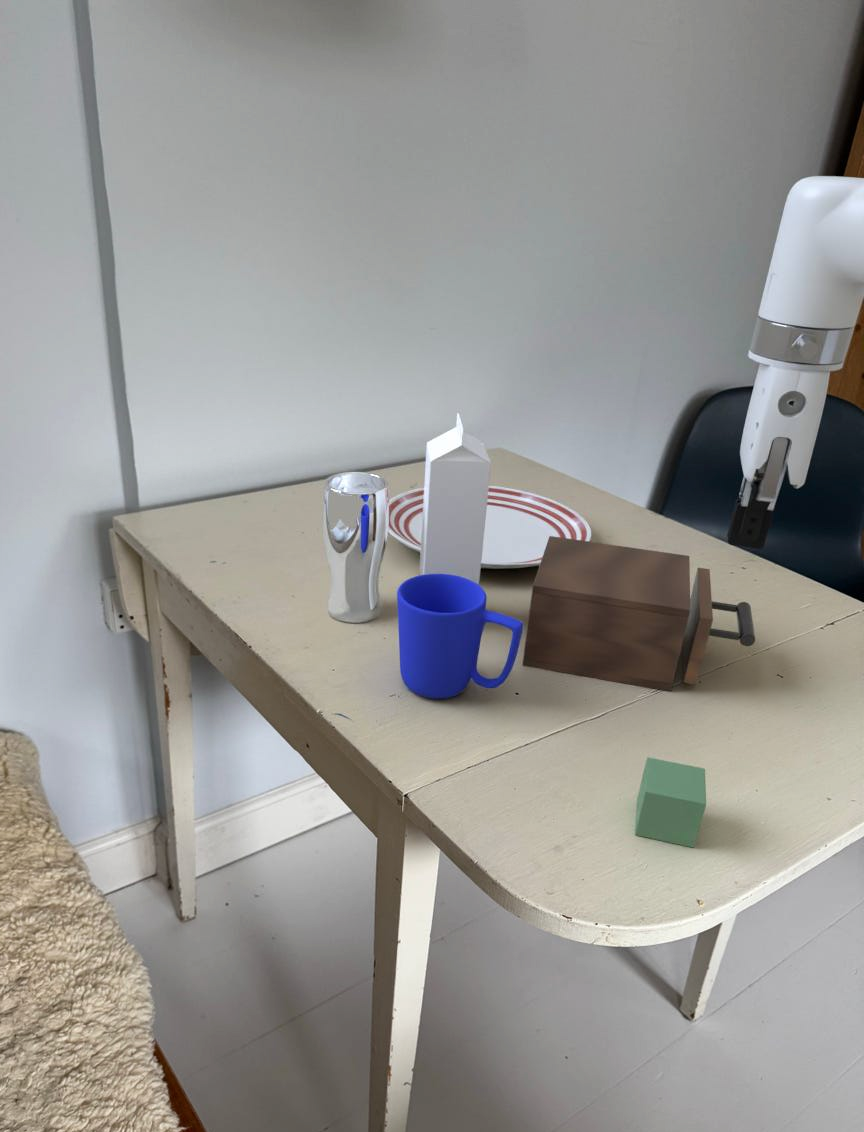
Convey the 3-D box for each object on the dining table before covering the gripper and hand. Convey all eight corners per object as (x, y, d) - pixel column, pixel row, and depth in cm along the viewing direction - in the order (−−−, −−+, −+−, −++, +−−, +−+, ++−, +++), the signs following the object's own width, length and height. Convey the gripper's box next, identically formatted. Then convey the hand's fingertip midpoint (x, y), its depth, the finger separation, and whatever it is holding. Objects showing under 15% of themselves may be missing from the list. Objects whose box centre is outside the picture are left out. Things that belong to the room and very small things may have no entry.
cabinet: (672, 631, 95) (689, 555, 91) (670, 691, 85) (690, 610, 80) (539, 609, 99) (549, 535, 94) (522, 665, 88) (532, 585, 84)
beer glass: (359, 631, 93) (362, 499, 85) (310, 611, 96) (308, 482, 89) (397, 608, 98) (403, 481, 90) (349, 589, 101) (351, 466, 94)
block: (693, 811, 70) (705, 768, 68) (693, 848, 66) (706, 803, 64) (637, 799, 71) (647, 756, 69) (634, 835, 67) (645, 791, 65)
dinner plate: (487, 489, 131) (489, 467, 130) (632, 552, 113) (637, 529, 111) (338, 528, 116) (338, 505, 115) (477, 609, 98) (480, 583, 96)
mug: (494, 730, 78) (505, 635, 73) (377, 691, 83) (381, 599, 78) (527, 687, 85) (539, 596, 79) (416, 653, 89) (422, 565, 84)
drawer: (738, 637, 93) (755, 575, 89) (745, 693, 83) (764, 627, 80) (568, 609, 97) (578, 549, 93) (556, 660, 87) (566, 596, 84)
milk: (420, 630, 94) (430, 429, 83) (417, 603, 99) (426, 411, 88) (476, 630, 94) (494, 430, 83) (470, 604, 99) (486, 412, 88)
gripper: (863, 367, 66) (795, 583, 75) (834, 331, 78) (779, 520, 88) (758, 357, 67) (704, 570, 77) (746, 323, 80) (701, 509, 89)
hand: (744, 543), depth 82 cm, fingers closed
